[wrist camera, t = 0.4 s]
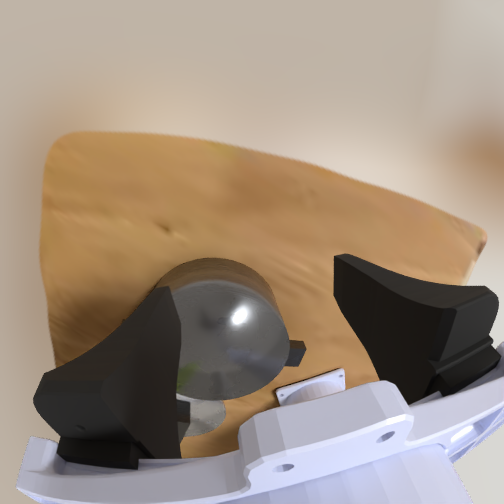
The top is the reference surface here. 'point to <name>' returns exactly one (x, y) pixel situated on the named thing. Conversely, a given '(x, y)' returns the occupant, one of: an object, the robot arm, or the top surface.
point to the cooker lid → (198, 416)
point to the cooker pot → (227, 330)
